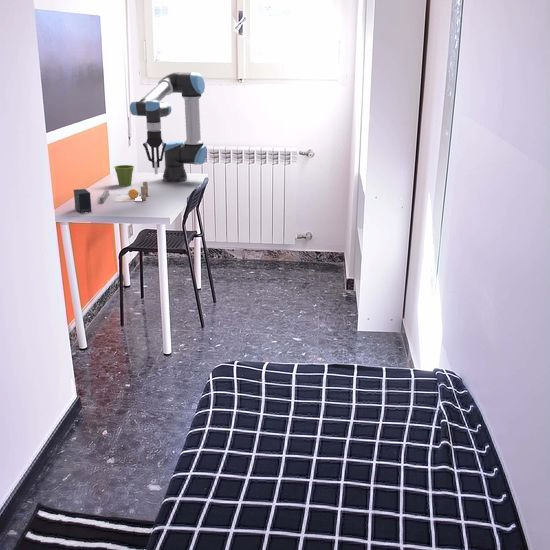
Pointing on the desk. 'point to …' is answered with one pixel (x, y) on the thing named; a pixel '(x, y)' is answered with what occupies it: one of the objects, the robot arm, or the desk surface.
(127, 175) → the plant pot
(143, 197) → the post
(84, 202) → the small box
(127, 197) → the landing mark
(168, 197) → the desk surface
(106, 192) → the stopper wall
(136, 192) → the ball
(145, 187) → the post
